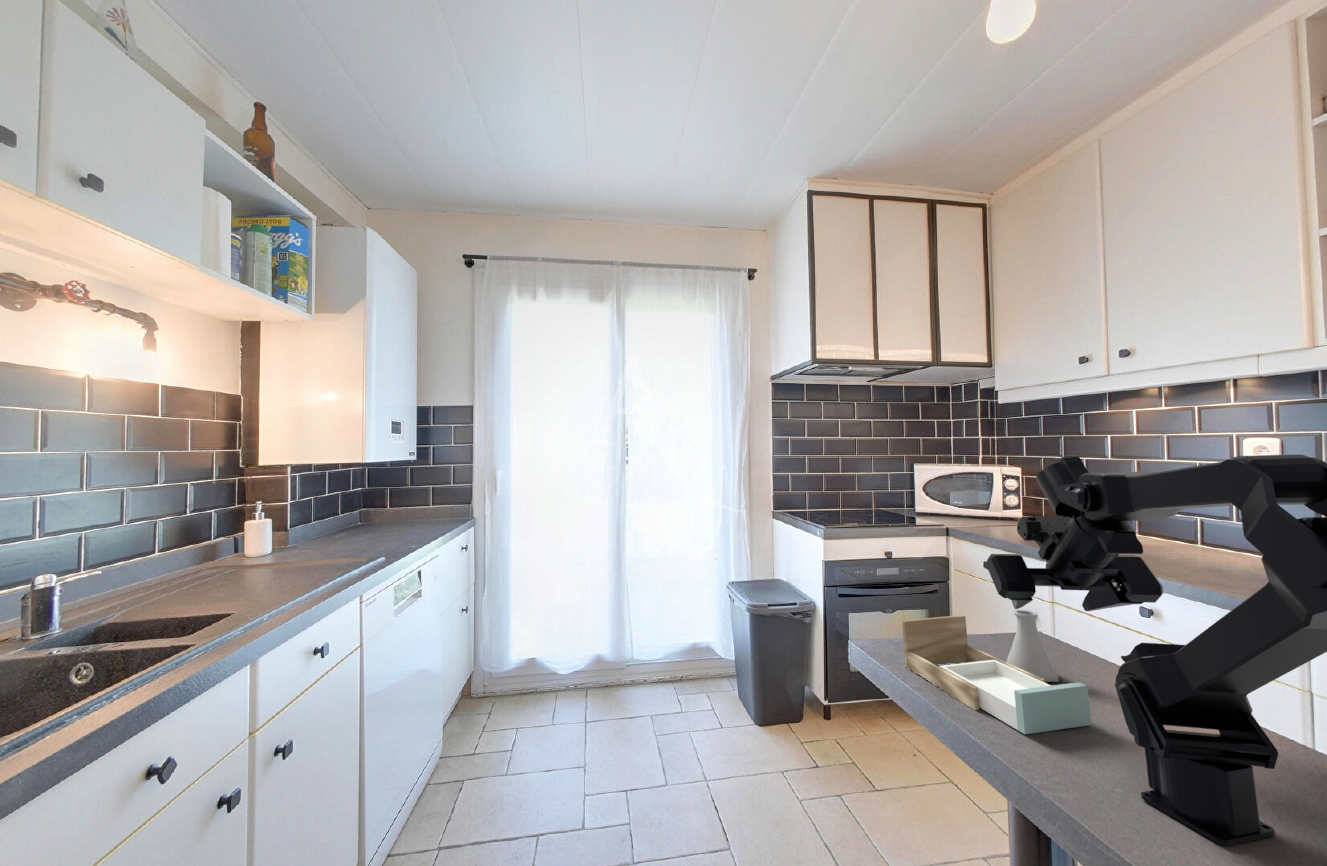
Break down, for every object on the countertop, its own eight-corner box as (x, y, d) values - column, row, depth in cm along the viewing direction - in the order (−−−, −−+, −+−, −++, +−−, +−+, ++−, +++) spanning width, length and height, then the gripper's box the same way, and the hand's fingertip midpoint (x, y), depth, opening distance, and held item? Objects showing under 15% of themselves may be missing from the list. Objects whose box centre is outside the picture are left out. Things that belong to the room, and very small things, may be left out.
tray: (1091, 724, 62) (1087, 685, 62) (1024, 734, 60) (1021, 693, 60) (995, 677, 76) (993, 645, 76) (940, 684, 74) (937, 651, 75)
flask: (1013, 681, 75) (1007, 617, 76) (997, 663, 82) (992, 604, 83) (1068, 686, 73) (1062, 620, 73) (1047, 667, 79) (1041, 607, 80)
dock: (1047, 701, 68) (1041, 644, 69) (975, 710, 66) (970, 652, 67) (966, 661, 83) (962, 614, 84) (905, 667, 81) (902, 620, 82)
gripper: (1137, 497, 65) (1093, 562, 75) (985, 499, 69) (963, 560, 79) (1192, 567, 57) (1135, 629, 67) (1016, 564, 61) (987, 623, 71)
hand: (1049, 607), depth 71 cm, fingers open, 9 cm apart
